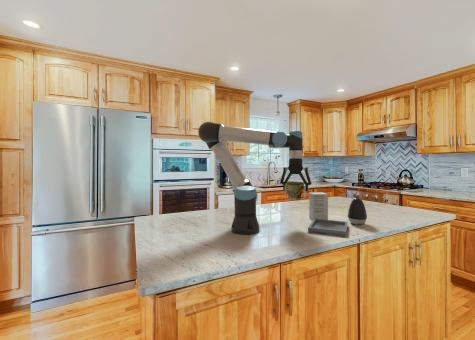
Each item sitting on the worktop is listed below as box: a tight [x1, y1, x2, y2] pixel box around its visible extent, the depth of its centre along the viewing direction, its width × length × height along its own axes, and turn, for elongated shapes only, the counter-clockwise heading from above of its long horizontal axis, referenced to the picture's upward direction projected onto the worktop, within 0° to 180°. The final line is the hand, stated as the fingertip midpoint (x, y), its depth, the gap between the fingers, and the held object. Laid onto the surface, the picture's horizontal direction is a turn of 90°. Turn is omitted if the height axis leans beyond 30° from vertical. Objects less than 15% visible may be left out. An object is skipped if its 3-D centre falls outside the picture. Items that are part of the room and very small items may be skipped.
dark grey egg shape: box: [347, 197, 368, 226], centre depth 142 cm, size 10×10×15 cm
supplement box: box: [308, 191, 329, 221], centre depth 153 cm, size 10×9×17 cm
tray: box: [307, 219, 348, 237], centre depth 132 cm, size 18×21×2 cm
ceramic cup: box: [286, 180, 305, 201], centre depth 139 cm, size 13×10×10 cm
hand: (295, 196), depth 140 cm, fingers closed on ceramic cup, 10 cm apart
